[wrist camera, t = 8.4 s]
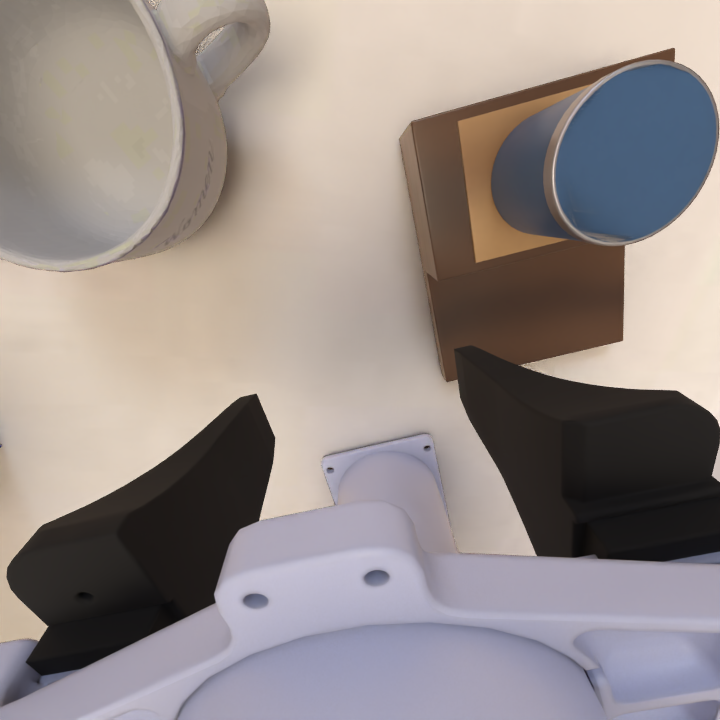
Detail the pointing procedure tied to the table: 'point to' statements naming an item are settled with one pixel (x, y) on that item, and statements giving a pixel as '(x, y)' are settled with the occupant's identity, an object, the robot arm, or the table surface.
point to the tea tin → (610, 157)
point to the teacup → (114, 124)
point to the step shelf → (504, 241)
